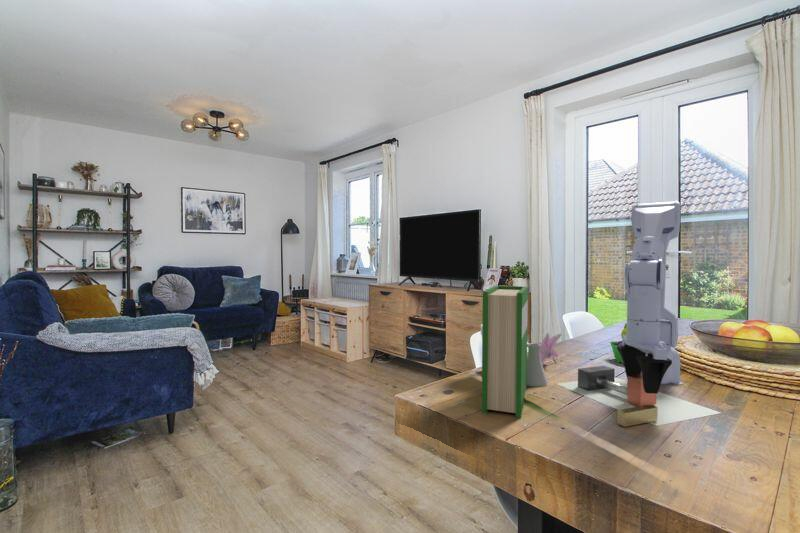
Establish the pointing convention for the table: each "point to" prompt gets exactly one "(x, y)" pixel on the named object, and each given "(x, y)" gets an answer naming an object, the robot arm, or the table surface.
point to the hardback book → (504, 349)
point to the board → (667, 405)
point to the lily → (548, 347)
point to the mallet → (631, 390)
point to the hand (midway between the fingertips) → (641, 386)
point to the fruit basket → (619, 343)
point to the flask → (535, 366)
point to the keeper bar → (637, 415)
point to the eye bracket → (594, 377)
